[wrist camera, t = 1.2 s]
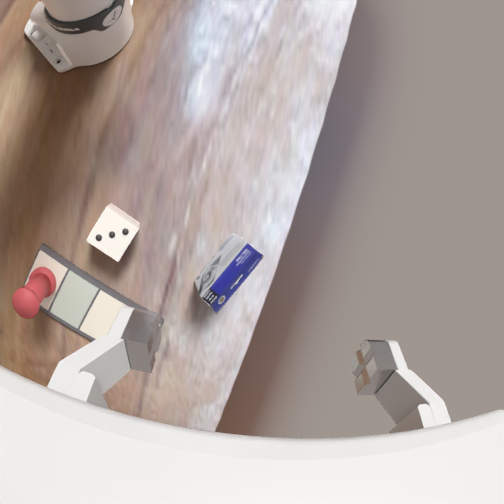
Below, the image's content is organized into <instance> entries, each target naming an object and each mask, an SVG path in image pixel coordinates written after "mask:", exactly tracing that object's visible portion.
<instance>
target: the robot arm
mask: <svg viewBox="0 0 504 504" xmlns="http://www.w3.org/2000/svg"><path fill="white" fill-rule="evenodd" d="M133 3H134V0H40V1H39V2H38V3H37V4H36V6H35V7H34V9H33V10H32V12H31V15H30V19H29V21H28V23H27V25H26V27H25V30H24V32H25V34H26V35H27V37H28V38H29V39H30V40H31V41H32V43H33V44H34V45H35V46H36V47H37V49H38V50H39V51H40V52H41V53H42V54H43V56H44V57H45V58H46V59H47V60H48V61H49V63H50V64H51V65H52V66H53V67H54V68H55V69H56V71H57V72H60V73H62V72H65V71H68V70H70V69H72V68H74V67H78V66H89V65H94V64H97V63H100V62H103V61H105V60H107V59H109V58H111V57H112V56H114V55H115V54H117V53H118V52H119V51H120V50H121V49H122V48H123V47H124V46H125V45H126V43H127V42H128V41H129V39H130V37H131V35H132V32H133V28H134V20H133V16H132V7H133ZM59 60H61V61H60V63H57V62H58V61H59ZM160 321H161V317H160V314H159V313H155V312H151V311H146V310H142V309H138V308H133V307H129V306H125V305H123V306H122V307H121V308H120V310H119V312H118V314H117V316H116V318H115V320H114V322H113V324H112V326H111V328H110V330H109V333H108V335H102V336H100V337H99V338H97V339H96V340H94V341H92V342H91V343H89V344H87V345H86V346H84V347H83V348H81V349H79V350H78V351H76V352H74V353H73V354H71V355H70V356H68V357H66V358H65V359H63V360H61V361H60V362H59V364H58V365H57V367H56V369H55V371H54V374H53V376H52V378H51V380H50V382H49V384H48V386H47V387H45V386H43V385H41V384H38V383H36V382H34V381H31V380H29V379H27V378H25V377H23V376H21V375H19V374H17V373H15V372H13V371H11V370H9V369H7V368H5V367H3V366H1V365H0V504H504V410H496V411H493V412H490V413H486V414H483V415H479V416H476V417H472V418H468V419H465V420H460V421H456V422H452V423H451V420H450V417H449V414H448V412H447V409H446V406H445V403H444V401H443V400H442V399H441V398H440V397H439V396H438V395H437V394H436V393H435V392H434V391H433V390H432V389H430V387H428V386H427V385H426V384H425V383H424V382H423V381H422V380H421V379H420V378H419V377H418V376H417V375H416V374H415V373H413V371H411V370H408V368H407V366H406V363H405V360H404V358H403V355H402V352H401V350H400V347H399V345H398V343H397V342H396V341H385V340H364V341H363V342H362V343H361V345H360V347H361V350H359V351H357V352H356V353H355V355H354V357H353V359H352V372H353V374H354V375H355V376H356V377H357V378H356V380H355V385H356V390H357V394H358V395H366V394H367V395H375V397H376V398H377V400H378V401H379V402H380V404H381V405H382V406H383V407H384V409H385V410H386V411H387V413H388V414H389V415H390V416H391V418H392V419H393V420H394V421H395V423H396V424H397V425H396V426H395V427H394V428H393V429H392V430H391V431H390V432H389V434H381V435H371V436H361V437H343V438H274V437H257V436H246V435H236V434H226V433H218V432H211V431H204V430H198V429H192V428H186V427H180V426H175V425H170V424H165V423H160V422H156V421H151V420H147V419H143V418H139V417H135V416H131V415H127V414H124V413H120V412H116V411H113V410H110V409H109V408H108V406H107V404H106V401H105V399H104V397H103V395H102V394H104V393H105V392H106V391H107V390H108V389H109V388H111V387H112V386H113V385H114V384H115V383H116V382H117V381H119V380H120V379H121V378H122V377H123V376H124V375H126V374H127V373H128V372H129V371H130V370H131V369H134V370H139V371H143V372H148V373H152V369H153V366H154V363H155V353H156V352H157V351H158V349H159V346H160V341H161V327H160V326H159V324H160Z"/></svg>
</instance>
